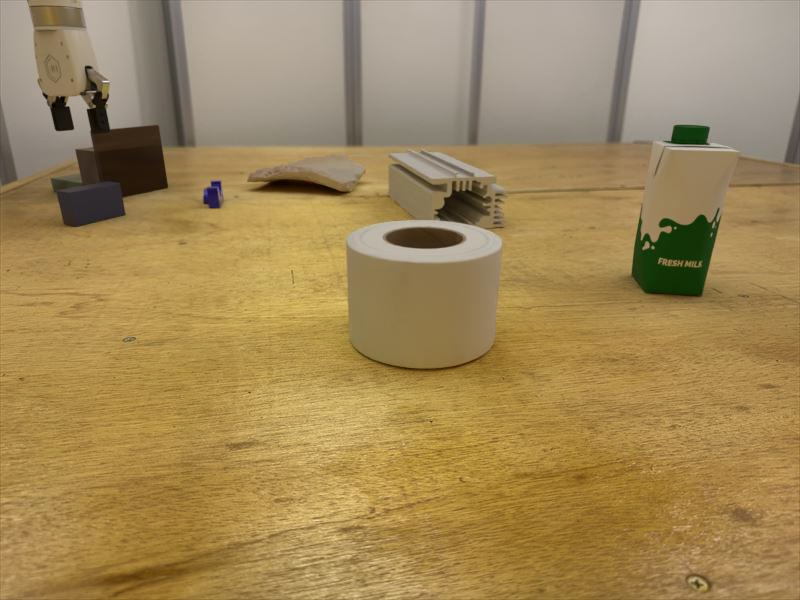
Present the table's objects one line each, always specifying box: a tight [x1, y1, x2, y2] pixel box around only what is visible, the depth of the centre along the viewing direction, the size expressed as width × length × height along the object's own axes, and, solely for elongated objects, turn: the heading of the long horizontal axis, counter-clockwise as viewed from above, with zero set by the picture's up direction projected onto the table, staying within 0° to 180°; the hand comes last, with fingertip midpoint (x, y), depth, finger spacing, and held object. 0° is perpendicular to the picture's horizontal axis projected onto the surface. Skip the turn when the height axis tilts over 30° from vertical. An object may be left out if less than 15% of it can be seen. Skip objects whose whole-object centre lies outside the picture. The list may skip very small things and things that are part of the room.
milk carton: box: [630, 124, 742, 297], centre depth 69 cm, size 9×9×20 cm
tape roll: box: [345, 219, 503, 369], centre depth 57 cm, size 16×15×11 cm
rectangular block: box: [55, 181, 126, 228], centre depth 100 cm, size 4×10×6 cm, turn 152°
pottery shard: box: [246, 153, 367, 192], centre depth 131 cm, size 24×8×20 cm
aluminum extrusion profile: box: [387, 148, 510, 230], centre depth 109 cm, size 14×31×10 cm, turn 15°
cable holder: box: [202, 180, 224, 209], centre depth 113 cm, size 8×4×4 cm, turn 11°
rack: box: [50, 124, 169, 198], centre depth 123 cm, size 18×16×14 cm
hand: (82, 131), depth 95 cm, fingers open, 9 cm apart
